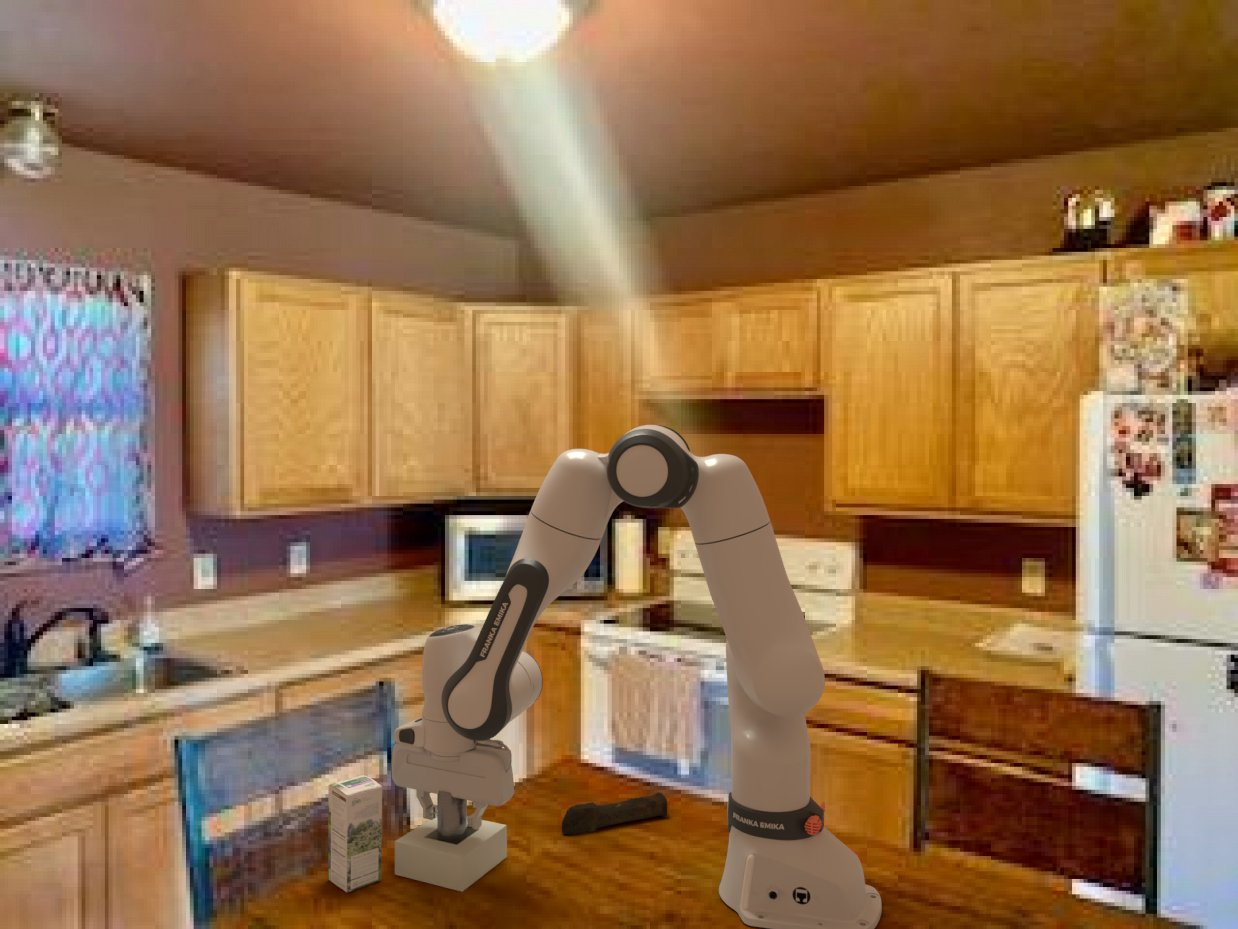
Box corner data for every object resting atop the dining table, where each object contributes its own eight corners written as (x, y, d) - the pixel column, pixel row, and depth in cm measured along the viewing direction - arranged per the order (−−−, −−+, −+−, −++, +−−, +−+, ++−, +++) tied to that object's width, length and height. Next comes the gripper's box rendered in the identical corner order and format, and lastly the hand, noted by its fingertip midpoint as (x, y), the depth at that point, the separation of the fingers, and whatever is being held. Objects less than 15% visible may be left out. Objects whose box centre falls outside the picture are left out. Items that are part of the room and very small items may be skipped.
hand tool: (658, 811, 161) (658, 785, 161) (669, 820, 158) (669, 793, 157) (556, 830, 153) (556, 802, 153) (565, 840, 150) (564, 811, 150)
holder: (506, 857, 143) (506, 825, 143) (462, 891, 132) (462, 857, 132) (442, 842, 148) (442, 811, 148) (394, 874, 137) (394, 841, 137)
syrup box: (362, 867, 139) (362, 772, 139) (383, 881, 135) (382, 783, 135) (327, 880, 135) (326, 782, 135) (347, 895, 131) (346, 794, 131)
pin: (472, 863, 141) (472, 784, 141) (455, 875, 137) (455, 794, 137) (448, 857, 143) (448, 780, 143) (431, 869, 139) (431, 789, 139)
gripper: (522, 736, 138) (522, 827, 138) (410, 717, 146) (411, 803, 147) (499, 749, 132) (499, 844, 133) (384, 729, 141) (385, 818, 141)
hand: (452, 822), depth 140 cm, fingers open, 7 cm apart
